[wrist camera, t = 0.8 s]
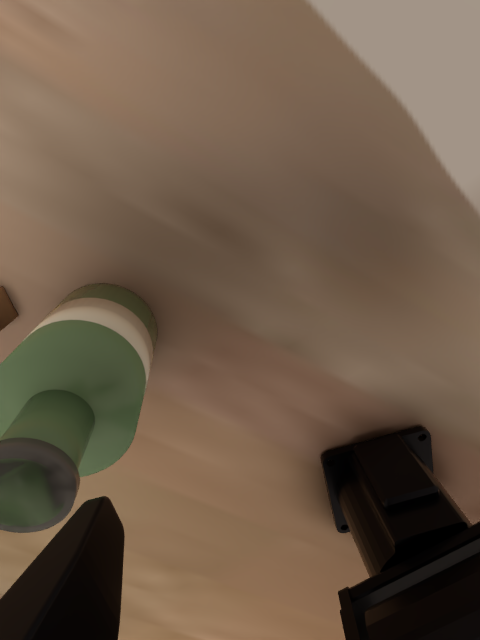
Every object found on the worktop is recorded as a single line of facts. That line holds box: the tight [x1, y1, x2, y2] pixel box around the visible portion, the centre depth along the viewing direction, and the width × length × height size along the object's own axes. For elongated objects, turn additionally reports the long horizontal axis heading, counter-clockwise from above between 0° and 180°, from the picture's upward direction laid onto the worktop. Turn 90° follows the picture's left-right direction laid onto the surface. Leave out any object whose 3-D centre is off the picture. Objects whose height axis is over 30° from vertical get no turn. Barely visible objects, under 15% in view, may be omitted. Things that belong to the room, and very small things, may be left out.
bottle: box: [0, 284, 157, 533], centre depth 14 cm, size 5×5×10 cm
